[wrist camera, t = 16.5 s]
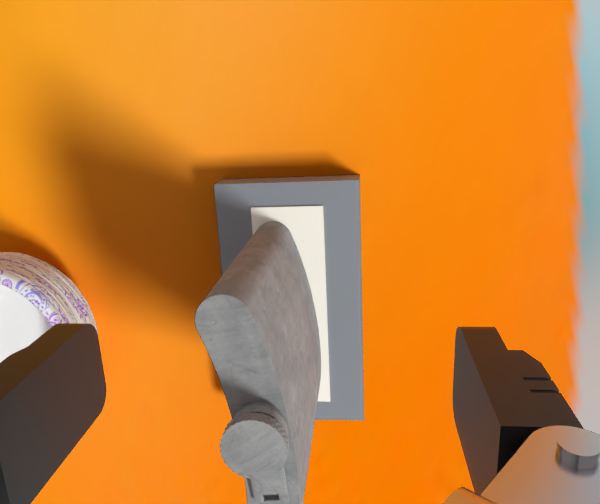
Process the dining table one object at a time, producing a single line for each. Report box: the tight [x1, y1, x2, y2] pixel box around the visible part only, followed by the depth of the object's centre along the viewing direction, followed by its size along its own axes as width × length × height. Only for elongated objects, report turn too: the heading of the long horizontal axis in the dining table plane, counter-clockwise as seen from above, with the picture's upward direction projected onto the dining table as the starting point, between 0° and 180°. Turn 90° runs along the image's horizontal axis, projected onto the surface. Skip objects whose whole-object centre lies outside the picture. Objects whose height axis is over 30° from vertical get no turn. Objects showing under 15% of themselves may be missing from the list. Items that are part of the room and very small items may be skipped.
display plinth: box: [214, 175, 364, 420], centre depth 49 cm, size 22×12×3 cm, turn 3°
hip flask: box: [195, 221, 321, 504], centre depth 38 cm, size 16×4×20 cm, turn 12°
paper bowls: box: [0, 252, 98, 363], centre depth 50 cm, size 15×15×8 cm
